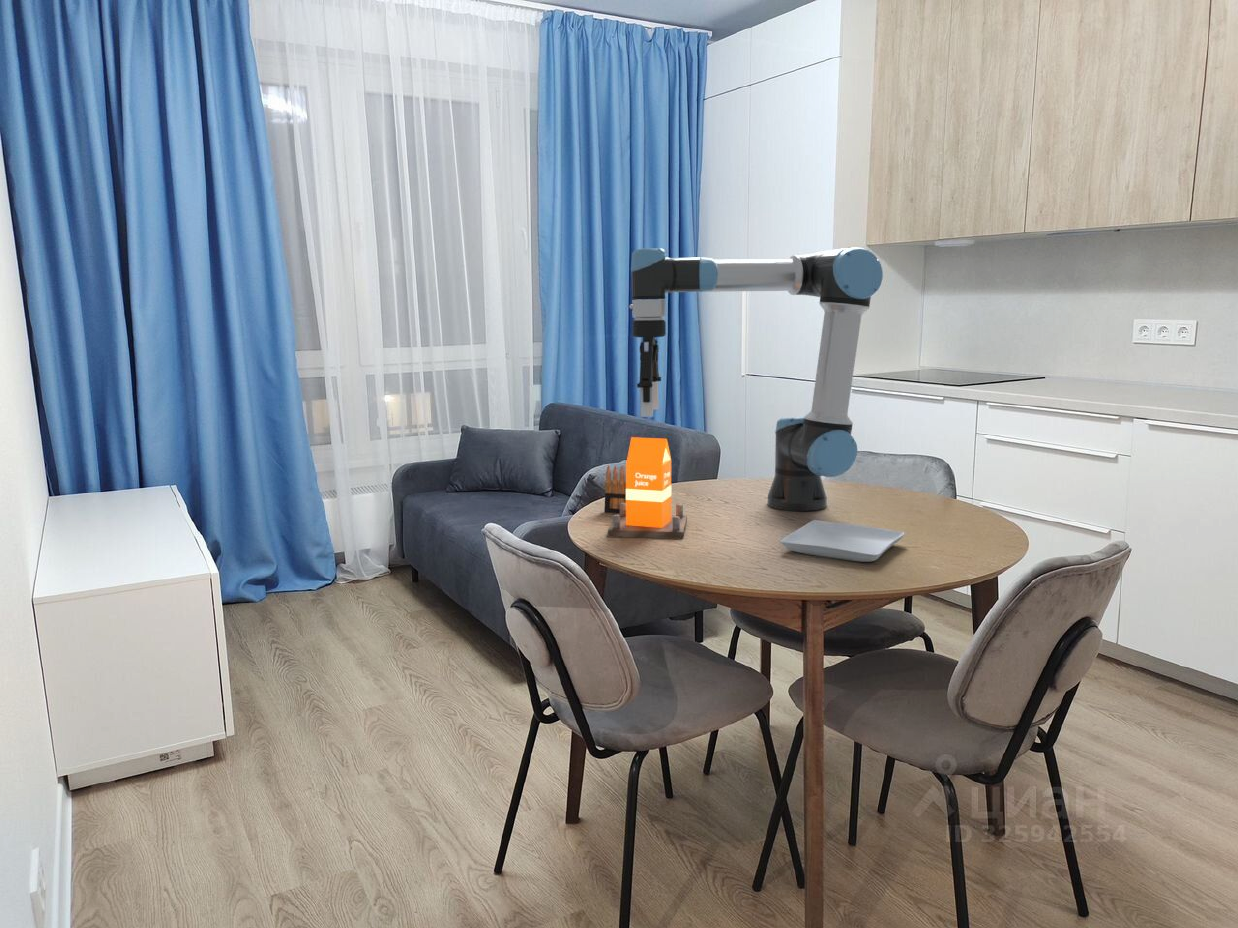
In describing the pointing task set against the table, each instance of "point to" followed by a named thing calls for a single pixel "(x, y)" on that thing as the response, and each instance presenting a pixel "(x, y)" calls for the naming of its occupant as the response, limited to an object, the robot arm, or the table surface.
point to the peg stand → (668, 531)
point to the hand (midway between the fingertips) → (649, 413)
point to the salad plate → (841, 540)
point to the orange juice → (648, 483)
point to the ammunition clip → (614, 491)
